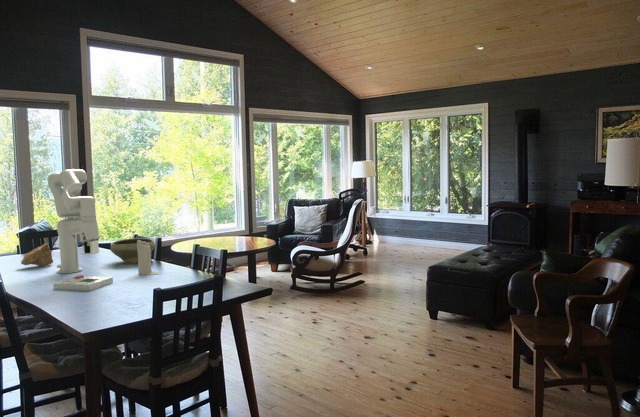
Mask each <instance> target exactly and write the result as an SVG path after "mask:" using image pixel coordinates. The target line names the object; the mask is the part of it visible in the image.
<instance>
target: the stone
mask: <svg viewBox="0 0 640 417" xmlns="http://www.w3.org/2000/svg"><path fill="white" fill-rule="evenodd" d="M23 256H24V257H23V258H22V260H21V261H20V264H21V265H24V266H30V265H33V266H34V265H35V266H38V267H43V266H44V267H45V266H49V265H52V264H54V259H53V255H52V250H51V249H50V247H49V243H47V242H44V243H43V244H41V245H40V246H37V247H35V248H33V249H32V250H31V251H29V252H27V253H25V254H24V255H23Z"/></svg>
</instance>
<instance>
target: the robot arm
mask: <svg viewBox="0 0 640 417" xmlns="http://www.w3.org/2000/svg"><path fill="white" fill-rule="evenodd" d="M87 180H88V175H87V173H86V171H85V170H84V169H80V168H79V169H78V168H77V169H75V168H72V169H70V168H69V169H64V170H62V171H60V172H53V173H50V174H49V175H48V177H47V186H48V188H49V190H50V192H51V194H52V196H53V201H54V205H55V212H56V215H57V216H58V217H59V218H61V219H62V220H59V221H58V222H57V223H56V232H57V234H58V235H57V236H58V240H59V241H58V242H59V252H60V254H59V255H60V263H59V264H57V265H56V268H57V269H59V270H58V273H59V274H74V273H79V272H82V270H83V268H82V267H80V264H79V248H78V240H77V239H76V238H75V237H74V235H79V242H80V243H81V244H82V247H83V246H84V251H85V253H90V246H89V241H90V240H98V241H99V239H101V236H100V234H99V226H98V222H97V221H98V220H97V213H96V199H95V197H93V196H88V195H86V196H85V195H83V196H75V195H77V194H79V193H80V192H81V191H82V189H83V185H84V184H86V183H87ZM68 218H69V219H68ZM86 241H87V243H86Z"/></svg>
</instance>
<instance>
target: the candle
mask: <svg viewBox="0 0 640 417" xmlns="http://www.w3.org/2000/svg"><path fill="white" fill-rule="evenodd" d="M137 251H138V262H137V267H138V268H137V269H138V275H141V276H143V275H144V276H145V275H146V276H153V275H161V274H162V272H159V271H152V262H151V261H152V260H151V258H152V251H151V250H150V245H149V243H146V241H141V240H137Z"/></svg>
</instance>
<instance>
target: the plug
mask: <svg viewBox="0 0 640 417" xmlns="http://www.w3.org/2000/svg"><path fill="white" fill-rule="evenodd" d="M86 243H87V241H86ZM89 246H90V253H85V251H84V246H83V245H82V252H83V255H97V254H99V253H100V249H99V248H100V247H99V240H90V241H89Z"/></svg>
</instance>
